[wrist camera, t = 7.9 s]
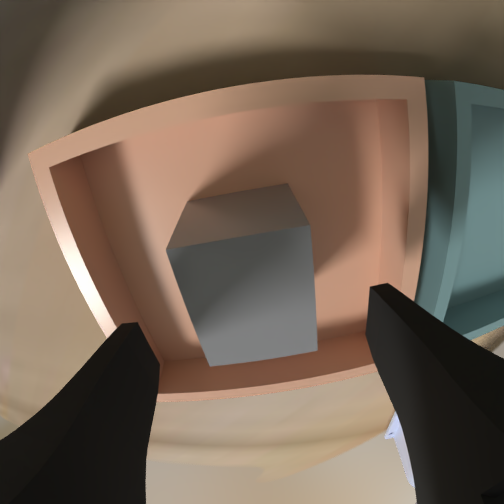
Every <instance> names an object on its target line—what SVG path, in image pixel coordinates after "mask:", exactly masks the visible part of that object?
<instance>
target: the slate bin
mask: <svg viewBox="0 0 504 504" xmlns="http://www.w3.org/2000/svg"><path fill="white" fill-rule="evenodd" d="M424 81H425V91H426V103H427V119H428V191H427V208H426V220H425V231H424V240H423V248H422V256H421V263H420V270H419V276H418V282H417V288H416V293H415V299H414V302H415V303H417V304H418V305H419V306H421V307H422V308H423V309H425V310H426V311H428V312H429V313H430V314H432V315H433V316H434V317H436V318H437V319H439V320H440V321H442V322H443V323H444V324H446V325H447V326H449V327H450V328H452V329H453V330H455V331H456V332H458V333H460V334H461V335H463V336H464V337H466V338H467V339H469V340H472V339H474V338H477V337H479V336H481V335H484V334H486V333H488V332H491V331H493V330H495V329H497V328H499V327H501V326H504V90H502V89H497V88H493V87H488V86H483V85H477V84H472V83H465V82H459V81H448V80H424Z"/></svg>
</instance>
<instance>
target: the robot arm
mask: <svg viewBox="0 0 504 504" xmlns="http://www.w3.org/2000/svg"><path fill="white" fill-rule="evenodd" d="M365 336H366V339H367V342H368V345H369V349H370V352H371V355H372V358H373V361H374V363H375V366H376V368H377V370H378V372H379V375H380V377H381V379H382V381H383V384H384V386H385V388H386V390H387V393H388V395H389V397H390V400H391V402H392V404H393V407H394V409H395V413H394V415H393V418H392V420H391V422H390V424H389V427H388V429H387V431H386V433H385V435H384V437H385V439H390V438H393V437H394V440H395V443H396V446H397V449H398V451H399V455H400V458H401V461H402V464H403V467H404V470H405V474H406V477H407V479H408V481H409V483H410V484H411V485H412V486H413V487H414V488H415V491H416V499H417V503H416V504H504V359H503V358H501V357H499V356H497V355H495V354H494V353H492V352H490V351H488V350H486V349H484V348H483V347H481V346H479V345H477V344H476V343H474V342H472V341H471V340H469V339H467V338H466V337H464V336H463V335H461V334H460V333H458V332H456V331H455V330H453V329H452V328H450V327H449V326H447V325H446V324H444V323H443V322H442V321H440V320H439V319H437V318H436V317H434V316H433V315H432V314H430V313H429V312H428V311H426V310H425V309H423V308H422V307H421V306H419V305H418V304H417V303H415V302H414V301H413V300H411V299H410V298H408V297H407V296H406V295H404V294H403V293H402V292H400V291H399V290H398V289H396V288H395V287H393V286H392V285H390V284H389V283H384V284H379V285H375V286H370V289H369V302H368V313H367V323H366V332H365ZM159 375H160V363H159V361H158V359H157V358H156V356H155V354H154V352H153V350H152V348H151V347H150V345H149V343H148V341H147V339H146V337H145V335H144V333H143V331H142V329H141V327H140V325H139V324H138V322H132V323H122V324H121V325H120V326H119V327H118V328H117V329H116V330H115V331H114V332H113V333H112V334H111V335H110V336H109V337H108V338H107V339H106V340H105V342H104V343H103V344H102V345H101V346H100V347H99V348H98V350H97V351H96V352H95V353H94V354H93V355H92V356H91V358H90V359H89V360H88V361H87V362H86V363H85V364H84V366H83V367H82V368H81V369H80V370H79V371H78V372H77V373H76V374H75V376H74V377H73V378H72V379H71V380H70V381H69V382H68V383H67V384H66V385H65V386H64V387H63V389H62V390H61V391H60V392H59V393H58V394H57V395H56V396H55V397H54V398H53V399H52V400H51V401H50V402H49V403H47V404H46V405H45V406H44V407H43V408H42V409H41V410H40V411H39V412H38V413H36V414H35V415H34V416H33V417H31V418H30V419H29V420H28V421H26V422H25V423H24V424H23V425H21V426H20V427H19V428H18V429H16V430H15V431H13V432H12V433H11V434H9V435H8V436H6V437H5V438H4V439H2V440H0V504H146V492H145V479H146V456H147V448H148V442H149V437H150V432H151V426H152V421H153V416H154V411H155V406H156V401H157V396H158V389H159Z"/></svg>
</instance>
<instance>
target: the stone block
mask: <svg viewBox="0 0 504 504" xmlns="http://www.w3.org/2000/svg"><path fill="white" fill-rule="evenodd" d="M166 253H167V256H168V259H169V261H170V264H171V267H172V270H173V273H174V276H175V279H176V281H177V284H178V287H179V290H180V292H181V295H182V298H183V301H184V303H185V306H186V309H187V311H188V314H189V316H190V319H191V322H192V324H193V327H194V329H195V332H196V334H197V337H198V339H199V342H200V344H201V347H202V349H203V351H204V354H205V356H206V359H207V361H208V363H209V366H220V365H229V364H237V363H245V362H252V361H259V360H266V359H273V358H279V357H285V356H291V355H297V354H302V353H308V352H313V351H318V344H317V318H316V298H315V281H314V266H313V252H312V240H311V228H310V224H309V222H308V220H307V218H306V216H305V214H304V212H303V210H302V209H301V207H300V205H299V203H298V201H297V199H296V197H295V196H294V194H293V192H292V190H291V188H290V186H289V185H288V183H286V184H280V185H274V186H268V187H262V188H256V189H250V190H244V191H238V192H233V193H227V194H222V195H217V196H211V197H206V198H201V199H196V200H191V201H187V202H186V205H185V207H184V209H183V211H182V213H181V216H180V218H179V220H178V222H177V225H176V227H175V229H174V231H173V234H172V236H171V238H170V241H169V243H168V245H167V248H166Z"/></svg>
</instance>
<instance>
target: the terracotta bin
mask: <svg viewBox="0 0 504 504" xmlns="http://www.w3.org/2000/svg"><path fill="white" fill-rule="evenodd" d="M28 157H29V160H30V164H31V167H32V170H33V174H34V177H35V180H36V183H37V187H38V190H39V193H40V195H41V198H42V201H43V204H44V207H45V210H46V212H47V215H48V218H49V220H50V223H51V225H52V228H53V231H54V233H55V235H56V238H57V240H58V243H59V245H60V247H61V250H62V252H63V254H64V256H65V259H66V261H67V263H68V265H69V267H70V270H71V272H72V274H73V276H74V278H75V280H76V282H77V284H78V286H79V288H80V290H81V292H82V294H83V296H84V298H85V300H86V302H87V303H88V305H89V307H90V309H91V311H92V313H93V315H94V316H95V318H96V320H97V322H98V323H99V325H100V327H101V329H102V330H103V332H104V334H105V335H106V337H107V338H108V337H109V336H110V335H111V334H112V333H113V332H114V331H115V330H116V329H117V328H118V327H119V326H120V325H121V324H122V323H132V322H138V324H139V325H140V327H141V329H142V331H143V333H144V335H145V337H146V339H147V341H148V343H149V345H150V347H151V348H152V350H153V352H154V354H155V356H156V358H157V359H158V361H159V363H160V375H159V389H158V396H157V401H156V402H178V401H199V400H214V399H226V398H236V397H245V396H254V395H262V394H269V393H276V392H283V391H289V390H295V389H301V388H306V387H312V386H317V385H322V384H327V383H332V382H336V381H341V380H345V379H349V378H354V377H358V376H362V375H366V374H370V373H373V372H377V371H378V370H377V368H376V366H375V363H374V361H373V358H372V355H371V352H370V349H369V345H368V342H367V339H366V336H365V332H366V323H367V313H368V302H369V289H370V286H375V285H379V284H384V283H389V284H390V285H392V286H393V287H395V288H396V289H398V290H399V291H400V292H402V293H403V294H404V295H406V296H407V297H408V298H410V299H411V300H413V301H414V299H415V293H416V288H417V282H418V276H419V270H420V263H421V256H422V248H423V240H424V231H425V220H426V208H427V191H428V119H427V103H426V91H425V81H424V77H413V76H396V75H331V76H314V77H301V78H290V79H281V80H272V81H264V82H257V83H250V84H244V85H238V86H232V87H227V88H221V89H216V90H211V91H206V92H202V93H197V94H193V95H189V96H184V97H180V98H176V99H173V100H169V101H165V102H161V103H158V104H154V105H151V106H147V107H144V108H141V109H137V110H134V111H131V112H128V113H125V114H122V115H119V116H116V117H113V118H110V119H107V120H105V121H102V122H99V123H97V124H94V125H91V126H89V127H86V128H84V129H81V130H79V131H76V132H74V133H71V134H69V135H67V136H64V137H62V138H60V139H58V140H55V141H53V142H51V143H49V144H47V145H44V146H42V147H40V148H38V149H36V150H34V151H32V152H30V153H28ZM286 183H288V185H289V186H290V188H291V190H292V192H293V194H294V196H295V197H296V199H297V201H298V203H299V205H300V207H301V209H302V210H303V212H304V214H305V216H306V218H307V220H308V222H309V224H310V228H311V240H312V252H313V266H314V281H315V298H316V318H317V344H318V351H313V352H308V353H302V354H297V355H291V356H285V357H279V358H273V359H266V360H259V361H252V362H245V363H237V364H229V365H220V366H209V363H208V361H207V359H206V356H205V354H204V351H203V349H202V347H201V344H200V342H199V339H198V337H197V334H196V332H195V329H194V327H193V324H192V322H191V319H190V316H189V314H188V311H187V309H186V306H185V303H184V301H183V298H182V295H181V292H180V290H179V287H178V284H177V281H176V279H175V276H174V273H173V270H172V267H171V264H170V261H169V259H168V256H167V253H166V248H167V245H168V243H169V241H170V238H171V236H172V234H173V231H174V229H175V227H176V225H177V222H178V220H179V218H180V216H181V213H182V211H183V209H184V207H185V205H186V202H187V201H191V200H196V199H201V198H206V197H211V196H217V195H222V194H227V193H233V192H238V191H244V190H250V189H256V188H262V187H268V186H274V185H280V184H286Z"/></svg>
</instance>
